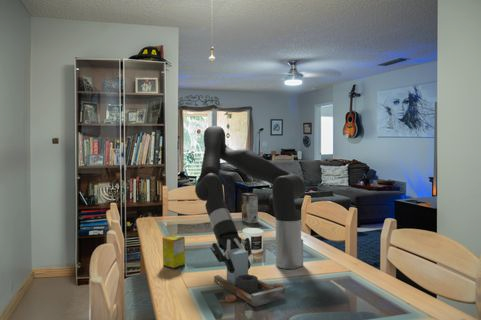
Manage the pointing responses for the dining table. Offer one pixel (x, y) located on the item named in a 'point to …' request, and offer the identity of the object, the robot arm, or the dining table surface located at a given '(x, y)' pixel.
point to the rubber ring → (248, 283)
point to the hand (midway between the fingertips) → (240, 270)
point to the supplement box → (173, 251)
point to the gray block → (238, 264)
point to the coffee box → (249, 207)
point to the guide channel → (256, 298)
